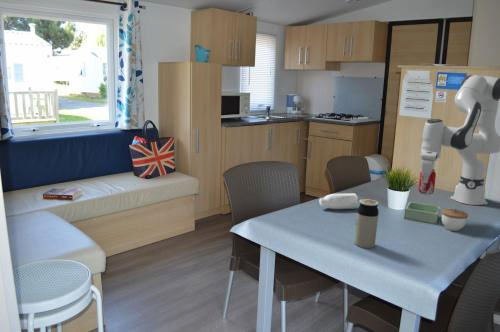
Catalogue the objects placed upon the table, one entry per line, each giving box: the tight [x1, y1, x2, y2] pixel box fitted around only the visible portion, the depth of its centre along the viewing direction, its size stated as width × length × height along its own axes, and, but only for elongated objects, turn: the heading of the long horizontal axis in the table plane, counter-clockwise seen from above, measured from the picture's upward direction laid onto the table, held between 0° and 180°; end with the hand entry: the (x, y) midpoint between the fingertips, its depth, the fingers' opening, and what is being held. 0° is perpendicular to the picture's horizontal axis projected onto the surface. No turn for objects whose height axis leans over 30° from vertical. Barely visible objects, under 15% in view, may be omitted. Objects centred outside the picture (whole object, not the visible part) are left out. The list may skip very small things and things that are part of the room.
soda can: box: [418, 169, 437, 196], centre depth 202 cm, size 7×7×12 cm
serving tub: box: [403, 201, 441, 225], centre depth 205 cm, size 14×14×5 cm
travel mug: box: [353, 198, 380, 249], centre depth 166 cm, size 8×8×18 cm
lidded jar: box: [441, 208, 469, 232], centre depth 190 cm, size 11×11×9 cm
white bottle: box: [318, 192, 359, 210], centre depth 213 cm, size 8×19×8 cm, turn 101°
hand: (426, 181), depth 202 cm, fingers closed on soda can, 6 cm apart
